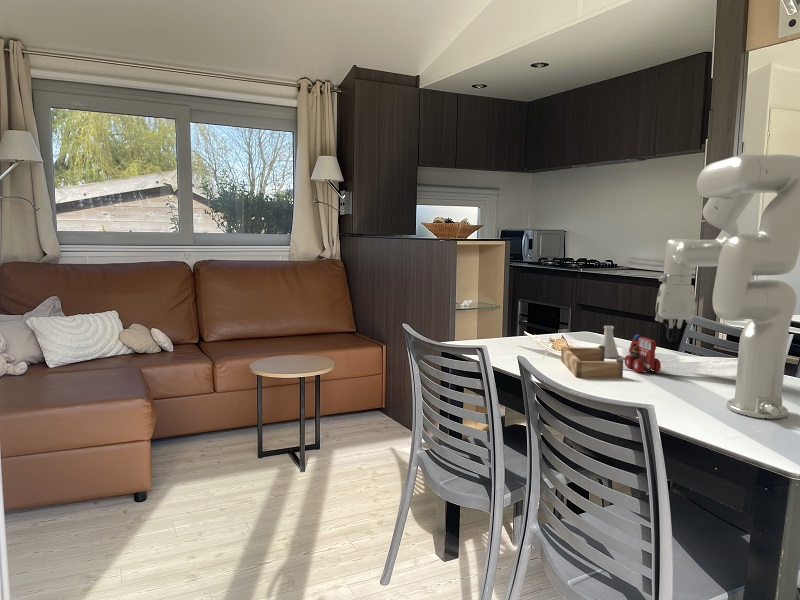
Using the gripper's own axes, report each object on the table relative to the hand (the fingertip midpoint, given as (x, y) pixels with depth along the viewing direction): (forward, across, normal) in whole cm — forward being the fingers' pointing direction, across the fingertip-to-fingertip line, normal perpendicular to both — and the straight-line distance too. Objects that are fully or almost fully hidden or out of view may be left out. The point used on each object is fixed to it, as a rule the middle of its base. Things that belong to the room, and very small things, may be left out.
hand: (672, 340), depth 176 cm
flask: (+10, -14, +16) cm, 23 cm away
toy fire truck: (+9, -9, -1) cm, 13 cm away
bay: (+9, -24, -1) cm, 26 cm away
